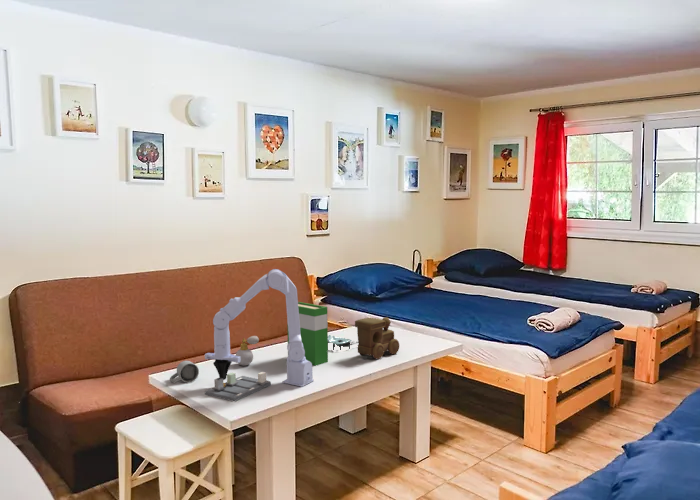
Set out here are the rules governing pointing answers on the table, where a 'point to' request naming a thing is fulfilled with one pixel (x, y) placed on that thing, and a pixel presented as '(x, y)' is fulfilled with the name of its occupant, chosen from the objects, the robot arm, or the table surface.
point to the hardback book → (313, 332)
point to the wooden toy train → (375, 337)
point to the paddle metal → (218, 384)
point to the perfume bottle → (246, 351)
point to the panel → (238, 389)
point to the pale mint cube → (231, 379)
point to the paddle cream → (262, 378)
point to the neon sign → (339, 341)
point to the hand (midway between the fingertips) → (223, 379)
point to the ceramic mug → (185, 372)
